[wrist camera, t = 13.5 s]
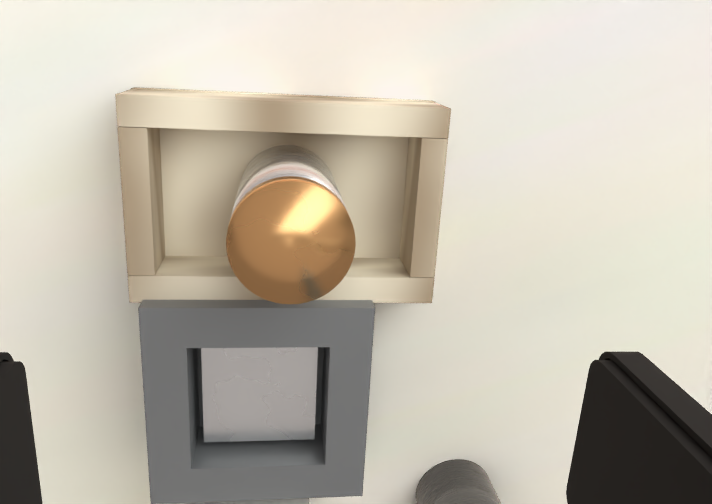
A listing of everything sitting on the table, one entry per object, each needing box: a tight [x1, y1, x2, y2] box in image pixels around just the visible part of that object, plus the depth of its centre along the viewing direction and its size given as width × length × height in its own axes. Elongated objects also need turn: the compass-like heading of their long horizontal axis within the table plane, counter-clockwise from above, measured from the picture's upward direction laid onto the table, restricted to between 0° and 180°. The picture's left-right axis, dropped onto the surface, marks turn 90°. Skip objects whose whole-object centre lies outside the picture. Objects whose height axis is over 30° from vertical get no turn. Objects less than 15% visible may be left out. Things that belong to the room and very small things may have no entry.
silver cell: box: [226, 145, 356, 304], centre depth 23 cm, size 4×4×7 cm
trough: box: [115, 88, 451, 303], centre depth 25 cm, size 12×8×3 cm, turn 87°
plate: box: [201, 347, 318, 442], centre depth 27 cm, size 5×5×1 cm
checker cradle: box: [138, 300, 375, 504], centre depth 27 cm, size 9×9×4 cm
